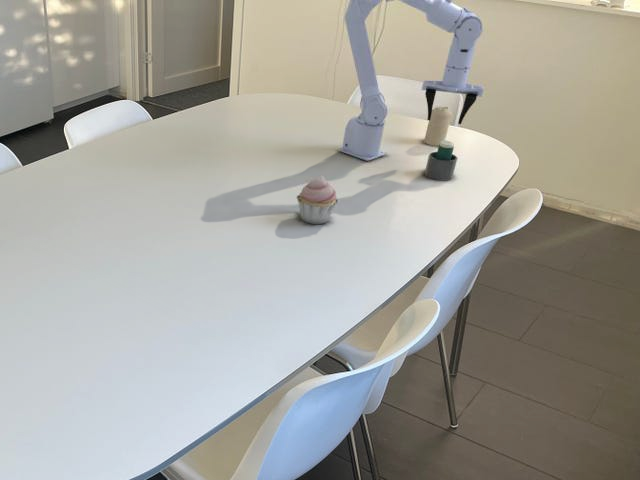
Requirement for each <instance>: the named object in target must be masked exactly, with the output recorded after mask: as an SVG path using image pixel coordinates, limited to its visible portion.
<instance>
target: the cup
mask: <svg viewBox="0 0 640 480" xmlns="http://www.w3.org/2000/svg"><path fill="white" fill-rule="evenodd" d="M436 155H437V151H431V152H429V154H428V157H427V161H426V165H425V169H424V176H426V177H427V178H429V179H432V180H434V181H435V180H436V181H449V180H450V181H451V180H452V179H453V177H454V173H455V170H456V166H457V163H458V157H457V155H456V154H453V153H452V156H451V160H450V161H443V160H438V159H436Z"/></svg>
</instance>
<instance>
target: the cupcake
mask: <svg viewBox="0 0 640 480" xmlns="http://www.w3.org/2000/svg"><path fill="white" fill-rule="evenodd" d="M295 197H296V200H297V202H298V208H299V216H300V219H301V220H302V221H303V222H305V223H307V224H312V225H323V224H326V223H328V222H329V220H330V218H331V215H332V214H333V211H334V210H335V208H336V206H337V205H338V204H339V203H340V200H339V199H337V198H338V196H337V191H336V190H335V187H334V185H333V184H332V183H330V182H328V181H326V179H325V177H324V176H323V175H319V176H316V177H314V178H312V179H311V180H310V181H309V182H308V183H307V184H305V186H304V187H302V189H301V192H299V193H298V195H296V196H295Z"/></svg>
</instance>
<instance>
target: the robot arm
mask: <svg viewBox="0 0 640 480" xmlns="http://www.w3.org/2000/svg"><path fill="white" fill-rule="evenodd" d="M382 1H383V0H349V2H348V3H347V7H346V10H345V12H344V22H345V25H346V30H347V37H348V40H349V44H350V49H351V53H352V57H353V62H354V68H355V71H356V77H357V80H358V84H359V89H360V94H361V97H360V102H359V108H360V110H361V113H360V114H359V115H358V116H352V117H351V118H350V119H349V120H348V121H347V123H346V126H345V130H344V135H343V141H342V146H341V148H340V149H339V151H340V152H341V153H345V154H346V155H349V156H353V157H354V158H358V159H361V160H363V161H367V162H369V161H371V160H375V159H378V158H381V157H383V156H386V152H383V151H381V150H380V149H381V148H380V147H381V143H382V138H383V133H384V129H385V123H386V120H385V119H386V117H387V115H388V107H387V104H386V99H385V97H384V94H382V93H381V92H380V88H379V83H378V79H377V78H378V77H377V74H376V69H375V64H374V59H373V54H372V50H371V45H370V40H369V35H368V30H367V26H366V20H367V19H368V17H369V15H370V14H371V12H372V11H373V9H375V8H376V7H377V6H378V5H380V4H381V3H382ZM392 1H394V0H385V2H386V3H389V2H392ZM398 1H399V2H401V3H403V4H406V5H408V6H410V7H412V8H414V9H416V10H418V11H420V12H422V13H424V14H425V16H426V17H425V18H426V21H427V22H429V24H433V25H434V26H436V27H437V28H439V29H442V30H443V31H446V32H447V33H449V34H452V33H453V36H452V41H451V44H450V47H449V51H448V55H447V59H446V64H445V68H444V72H443V75H442V79H441V80H425V79H424V80H423V83H422V87H421V91H425V99H426V105H427V119H426V120H427V121H429V120H430V119H431V114H432V110H433V107H434V104H435V103H434V102H435V98H436V94H437V92H443V93H452V94H461V95H465V97H464V101H463V106H462V109H461V112H460V115H459V118H458V122H457V123H458V124H457V125H462V124H463V123H462V122H463V121H464V118H465V116H466V114H468V111H469V110H470V109H471V107H472V106H473V105H474V104H475V102H476V101H477V98H478V97H479V98H481V97H482V96H483V93H484V90H485V89H484V86H479V85H473V84H470V83H469V84H468V83H467V80H468V77H469V73H470V68H471V66H472V61H473V57H474V53H475V49H476V43H477V40H478V39H479V38H480V37H481V36H482V34H483V31H484V30H483V23H482V20H481V19H480V17H479V16H477V15H476V14H475V13H474V12H473V11H471V10H470V9H468V8H467V7H464V8H462V7H460V6H459V5H458V4H455V3H453V2H452V1H453V0H398Z"/></svg>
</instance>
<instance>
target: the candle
mask: <svg viewBox="0 0 640 480" xmlns="http://www.w3.org/2000/svg"><path fill="white" fill-rule="evenodd" d="M452 115H453V112H452V111H451V109H450V107H449V106H435V107H434V108H432V114H431V119H430V120H428V122H427V127H426V131H425V135H424V141H423V142H424V144H427V145H430V146H435V147H439V144H440V142H441V141H446V139H447V134H448V131H449V126H450V123H451V119H452Z"/></svg>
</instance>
